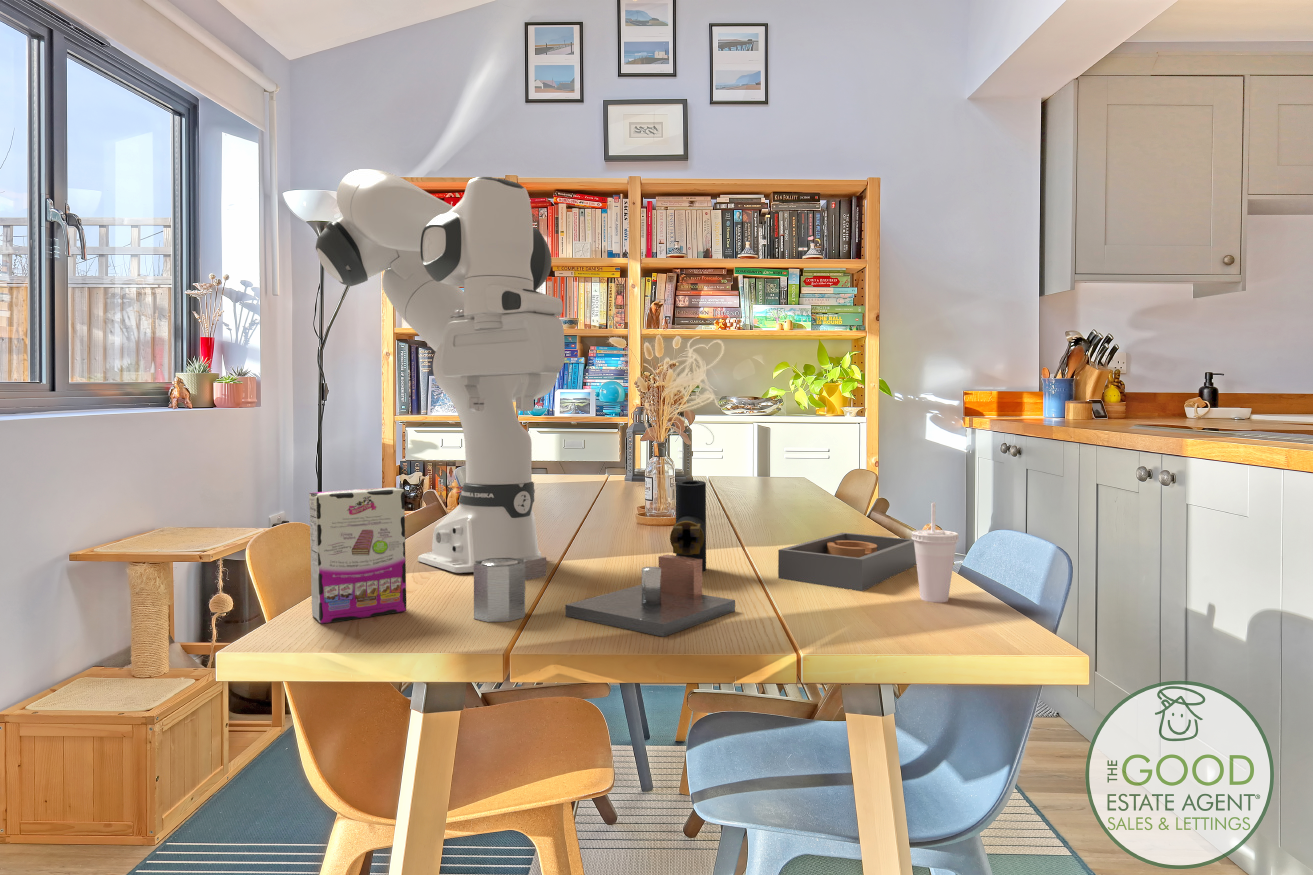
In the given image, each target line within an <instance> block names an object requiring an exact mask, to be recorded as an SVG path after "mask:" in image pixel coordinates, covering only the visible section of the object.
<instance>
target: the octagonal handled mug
mask: <svg viewBox="0 0 1313 875" xmlns="http://www.w3.org/2000/svg"><path fill="white" fill-rule="evenodd" d="M544 577H547V557H546V556H542V555H541V556H535V555H531V556H526V557H520V558H489V559H483V560H478V561H475V563H474V572H473V619H474V620H477V621H478V620H479V621H483V622H486V623H490V622H491V623H494V622H496V623H497V622H499V623H500V622H511V621H516V620H519V619H523V618H525V615H526V581H530V580H535V579H539V578H544Z"/></svg>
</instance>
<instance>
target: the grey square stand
mask: <svg viewBox="0 0 1313 875" xmlns="http://www.w3.org/2000/svg"><path fill="white" fill-rule="evenodd" d="M564 608H565V612H564V613H565V617H566V618H567V617H568V618H573V619H578V620H582V621H587V622H591V623H596V624H601V625H605V626H610V627H615V628H620V629H623V630H624V629H625V630H630V631H633V632H638V633H644V634H648V635H654V636H658V637H662V638H665V637H667V636H669V635H673V634H675V633H678V632H681V631H684V630H686V629H689V628H692V627H695V626H697V625H700V624H703V623H706V622H709V621H711V620H714V619H717V618H719V617H722V616H725V615H728V614H732V613H733V612H735V611H736V599H733V598H732V599H731V598H725V597H719V596H713V595H708V594H703V572H702V559H697V558H689V557H682V556H676V555H675V554H674V555H673V554H664V555H659V556H658V566H644V567H641V584H639V585H638V584H637V585H635V586H632V587H628V588H623V589H619V590H616V591H612V592H608V593H604V594H601V595H597V596H594V597H589V598H585V599H581V600H578V601H574V602H570V603H566V604H565V607H564Z"/></svg>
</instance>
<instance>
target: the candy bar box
mask: <svg viewBox="0 0 1313 875" xmlns="http://www.w3.org/2000/svg"><path fill="white" fill-rule="evenodd" d="M308 494H309V495H308V496H309V497H308V498H309V500H308V502H309V503H308V504H309V532H310V533H309V535H310V538H309V540H310V541H309V542H310V545H309V546H310V576H311V577H310V579H311V582H310V583H311V585H310V586H311V590H310V591H311V615H312V617H313V619H315V620H316V621H317V622H318V623H319V624H329V623H336V622H343V621H351V620H358V619H363V618H370V617H376V616H377V617H378V616H383V615H390V614H398V613H402V612H406V611H407V570H406V568H407V565H406V561H407V560H406V557H407V556H406V521H405V519H406V518H405V517H406V516H405V513H406V512H405V489H402V488H398V487H396V486H393V487H376V488H361V489H359V488H358V489H344V490H343V489H342V490H331V491H328V490H327V491H317V492H309V493H308Z"/></svg>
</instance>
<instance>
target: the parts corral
mask: <svg viewBox="0 0 1313 875" xmlns="http://www.w3.org/2000/svg"><path fill="white" fill-rule="evenodd" d="M834 541H862V542H869V543H873V544H876V545H877V552H874V553H871V554H868V555H865V556H862V557H860V558H856V557H847V556H839V555H830V554H827V543H828V542H833V543H834ZM777 552H778V557H777V558H778V560H777V561H778V566H777V568H778V569H777V574H778V576H777V578H778V580H779V579H780V580H786V581H793V582H800V583H806V584H811V585H818V586H825V587H831V588H837V587H838V588H837V589H843V588H844V589H845V590H849V589H852V590H851V591H857V592H864V591H866V590H868V589H870V588H873V587H874V586H877V585H878V584H881V583H883V582H885V581H887V580H889V579H891V578H893V577H895V576H897V575H899V574H902V573H903V572H905V571H907V570H909V569H911V568H913V567H915V566H914V565H916V555H915V546H914V540H913V539H912V538H903V537H893V536H892V537H891V536H883V535H881V536H880V535H874V534H873V535H872V534H861V533H850V532H840V533H836V534H832V535H828V536H825V537H820V538H818V539H814V540H810V541H805V542H802V543H798V544H794V545H791V546H787V547H784V548H780V549H778V551H777ZM916 566H917V565H916ZM906 569H907V570H906ZM898 573H899V574H898ZM894 575H895V576H894ZM892 576H893V577H892ZM890 577H891V578H890ZM844 589H843V590H844Z"/></svg>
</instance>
